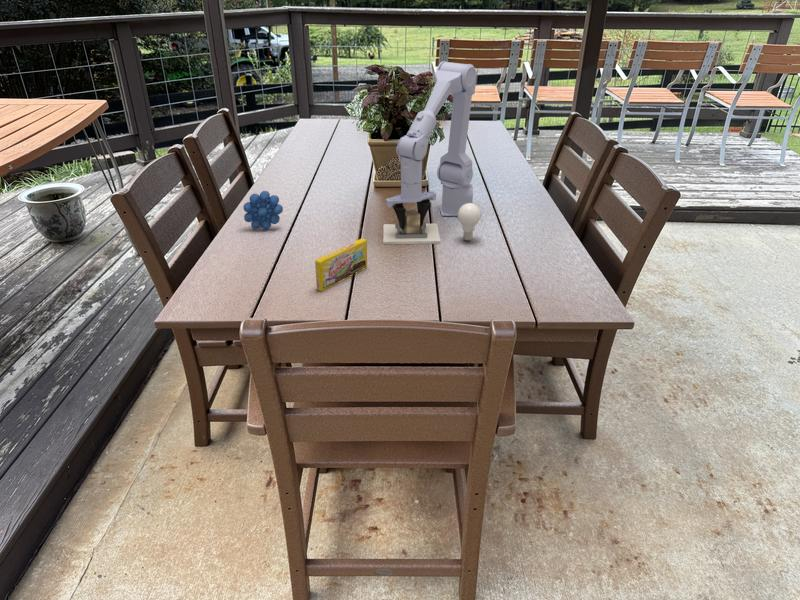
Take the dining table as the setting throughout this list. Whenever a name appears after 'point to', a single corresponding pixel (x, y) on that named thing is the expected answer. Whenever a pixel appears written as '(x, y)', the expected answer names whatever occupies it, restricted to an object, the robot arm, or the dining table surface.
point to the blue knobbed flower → (262, 210)
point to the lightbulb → (469, 219)
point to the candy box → (340, 264)
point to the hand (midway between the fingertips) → (411, 226)
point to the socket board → (410, 235)
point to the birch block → (412, 222)
